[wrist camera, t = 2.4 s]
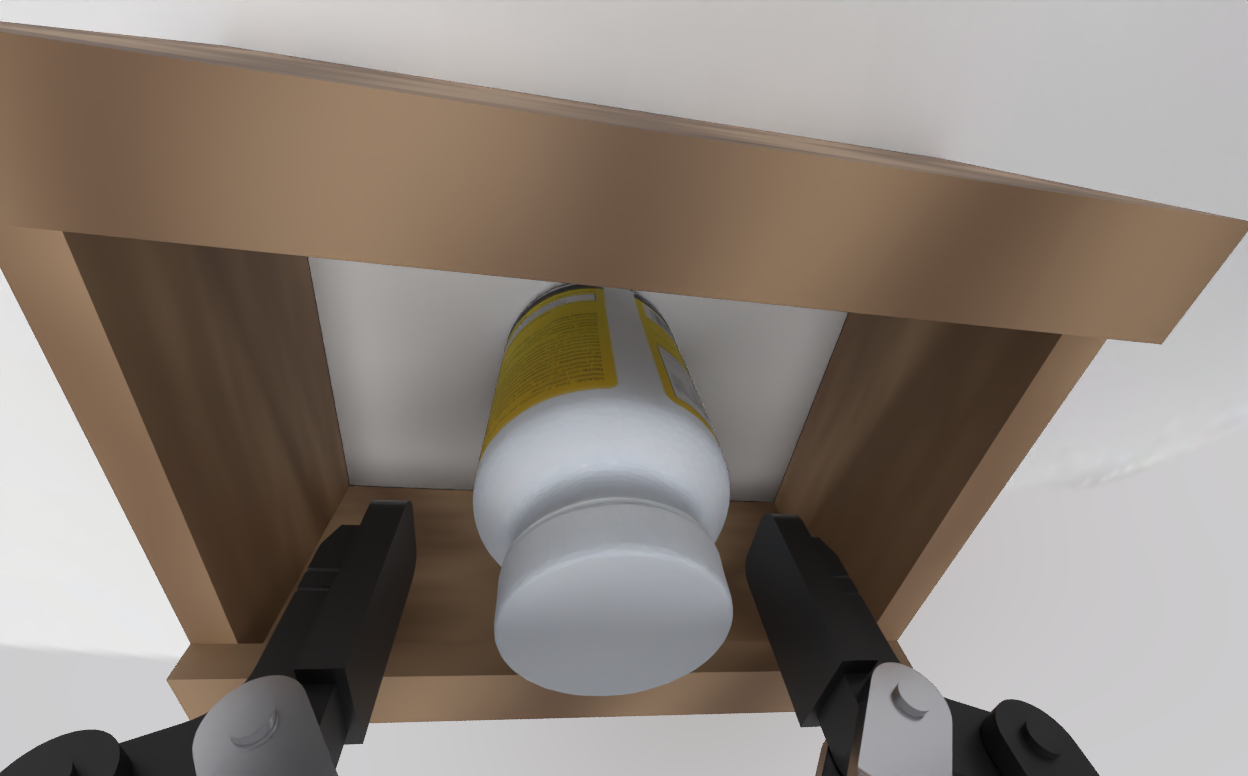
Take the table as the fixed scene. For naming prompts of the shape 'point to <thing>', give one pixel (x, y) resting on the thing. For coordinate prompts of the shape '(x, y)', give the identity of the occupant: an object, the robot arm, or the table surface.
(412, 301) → the table surface
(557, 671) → the pill bottle
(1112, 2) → the table surface
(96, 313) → the crate
